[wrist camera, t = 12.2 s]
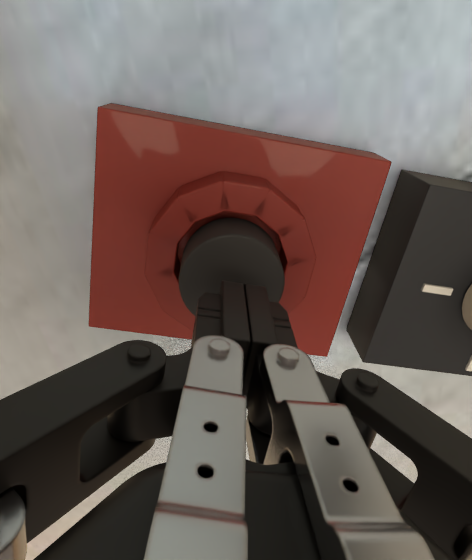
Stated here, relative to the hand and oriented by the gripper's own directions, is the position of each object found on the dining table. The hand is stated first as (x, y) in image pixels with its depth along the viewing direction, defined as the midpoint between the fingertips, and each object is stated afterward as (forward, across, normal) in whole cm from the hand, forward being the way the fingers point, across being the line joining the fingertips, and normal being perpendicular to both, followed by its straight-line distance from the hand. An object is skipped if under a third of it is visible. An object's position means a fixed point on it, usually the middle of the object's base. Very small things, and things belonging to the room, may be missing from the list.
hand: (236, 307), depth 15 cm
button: (+4, 0, 0) cm, 4 cm away
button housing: (+7, 0, 0) cm, 7 cm away
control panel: (+7, -13, 0) cm, 15 cm away
